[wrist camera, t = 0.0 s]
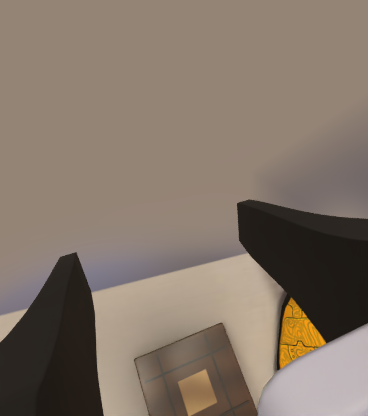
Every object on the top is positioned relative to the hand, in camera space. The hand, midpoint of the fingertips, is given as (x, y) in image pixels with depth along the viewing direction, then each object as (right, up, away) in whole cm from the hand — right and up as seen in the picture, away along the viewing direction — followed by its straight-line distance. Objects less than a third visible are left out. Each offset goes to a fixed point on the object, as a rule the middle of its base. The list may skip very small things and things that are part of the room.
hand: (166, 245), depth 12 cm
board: (+2, -23, +26) cm, 34 cm away
